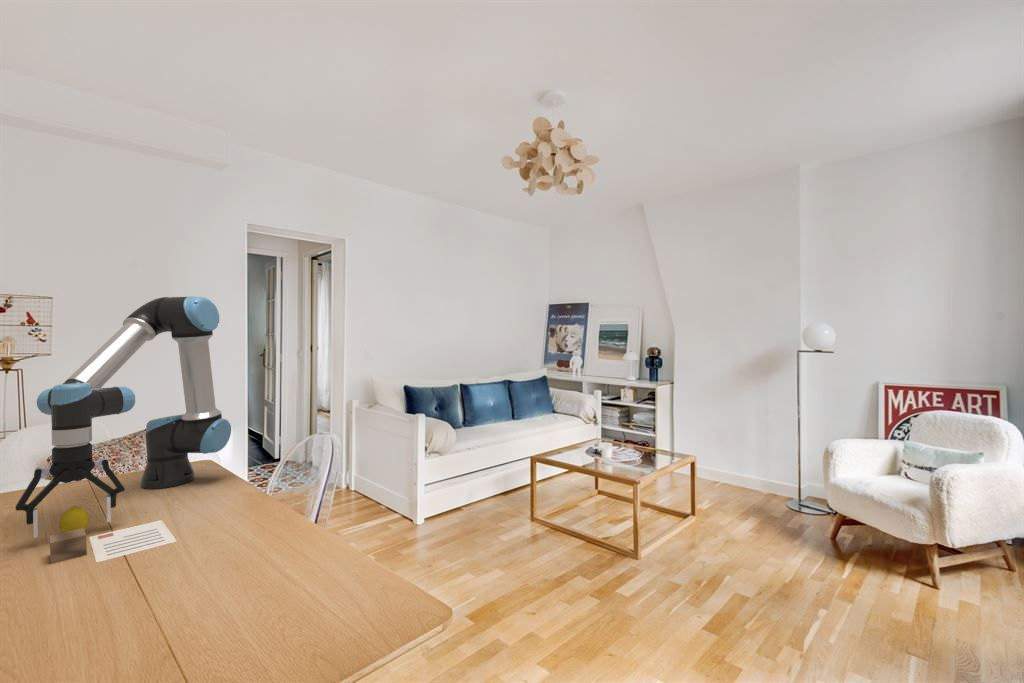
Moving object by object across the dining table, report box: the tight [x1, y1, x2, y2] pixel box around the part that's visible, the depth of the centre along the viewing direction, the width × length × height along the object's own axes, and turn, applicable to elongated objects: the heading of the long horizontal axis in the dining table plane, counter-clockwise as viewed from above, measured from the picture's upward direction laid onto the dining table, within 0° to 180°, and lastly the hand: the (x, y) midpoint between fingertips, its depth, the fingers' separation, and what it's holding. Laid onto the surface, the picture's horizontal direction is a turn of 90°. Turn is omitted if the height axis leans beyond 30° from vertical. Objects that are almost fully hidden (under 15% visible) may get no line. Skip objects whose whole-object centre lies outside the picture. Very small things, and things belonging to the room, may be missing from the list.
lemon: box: [59, 505, 90, 533], centre depth 121 cm, size 6×6×8 cm
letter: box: [89, 519, 177, 563], centre depth 119 cm, size 15×20×1 cm
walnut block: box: [49, 528, 88, 565], centre depth 111 cm, size 6×6×5 cm
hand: (73, 528), depth 121 cm, fingers open, 13 cm apart
